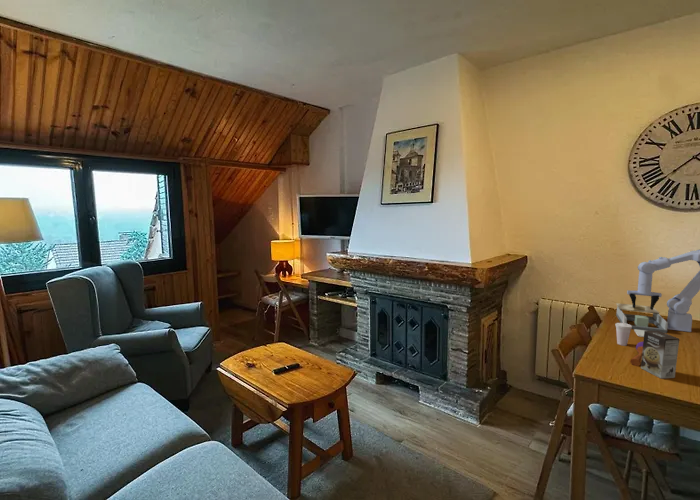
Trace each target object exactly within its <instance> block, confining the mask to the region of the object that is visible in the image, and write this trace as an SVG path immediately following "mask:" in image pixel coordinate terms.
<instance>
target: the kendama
mask: <svg viewBox="0 0 700 500" xmlns="http://www.w3.org/2000/svg"><path fill="white" fill-rule="evenodd" d="M635 349H636V351H637V353H638V354H636V355H635V356H633V357H632V358H631V359H630V360H629V362H630V364H631V365H632V366H635V367H640V366H641V362H642V352H643V341H639V342H637V344H636V346H635Z"/></svg>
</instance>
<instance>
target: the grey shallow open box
mask: <svg viewBox="0 0 700 500" xmlns="http://www.w3.org/2000/svg"><path fill="white" fill-rule="evenodd" d="M635 315H636V314H629V313H624V311H623V310H620V309H619V307H618V306H616V313H615V316H616V317H617V319H618V320H619V323H623V316H625V320H624V323H626V324H628V321H629V322H635ZM639 316H642V315H640V314H639ZM646 316H647V317H648V318H649V322H648V324H654V325H655V326H656V327H650V326H648V327H643V326H636V325H635V324H634V325H633V324H630V325H631V326H632V329H631V330H634V329H637V330H645V331H660V332H663V333H666V334H668V329H667V326H668V323H667V320H666V319H664V317H662V316H661V315H660V313H659V314H657V313H652V316H648V315H646Z"/></svg>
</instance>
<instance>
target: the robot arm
mask: <svg viewBox="0 0 700 500" xmlns="http://www.w3.org/2000/svg"><path fill="white" fill-rule="evenodd" d="M687 261H695V262H696V263H697V264H698V266H699V267H700V249H696V250H690V251H687V252H685V253H682V254H678V255H675V256H672V257H669V258H668V257H665V256H664V257H663V256H659V257H658V258H657V259H652V260H651V259H650V260H649V259H648V261H642V262H640V263H639V264H638V265H637V270H638V271H639V273H638V281H637V283H638V284H637V290H628V289H627V291H626V294H627V295H629V298H630V300H631V303H632V304H631V305H633V308H635V305H636V301H637V296H647V297H650V305H649V306H650V309H651V310H653V308H655V305H656V304H657V302H658V301H659V299H660V298H662V295H663V293H661V292H656V291H655V292H654V291H652V285H653V275H654V274H653V273H655V272H657V271H661V270H665V269H667V268H671V266H672V265H674V264H679V263H682V262H687ZM698 292H700V270H699V271H697V273H696V274H695V275H694V276H693V277H692V279H691V280H690V281H689V282H688V283H687V284H686V286H685V287H684V288H682V290H681V291H680V293H678V294H675V295H674V296H673V297H672V298H669V299H668V300H667V302H666V306H667V308H668V310H667V319H666V322H667V323H668V326H667V330H673V331H680V332H688V333H691V332H692V326H693V325H692V324H693V316H692V314H691V313H689V311H690V307H691V306H692V305H693V304H692V303H693V300H692V299H693V298H694V297H695V296H696V295H697V294H698Z"/></svg>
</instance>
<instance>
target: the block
mask: <svg viewBox="0 0 700 500" xmlns="http://www.w3.org/2000/svg"><path fill="white" fill-rule="evenodd" d="M634 315H635V321H634V325H635V326H643V327H649V323H648V322H649V318H648V317H647V316H648V315H641V316H639V315H640V314H639V315H638V314H634Z"/></svg>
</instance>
